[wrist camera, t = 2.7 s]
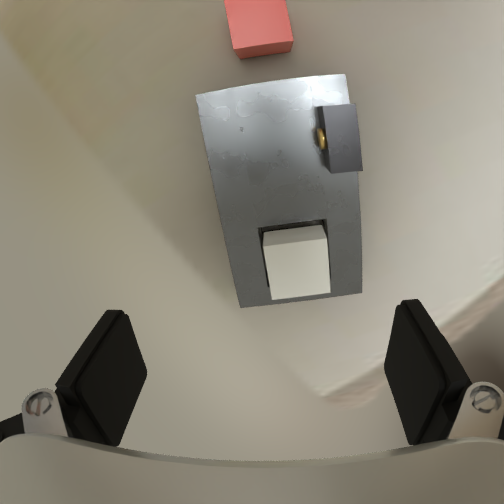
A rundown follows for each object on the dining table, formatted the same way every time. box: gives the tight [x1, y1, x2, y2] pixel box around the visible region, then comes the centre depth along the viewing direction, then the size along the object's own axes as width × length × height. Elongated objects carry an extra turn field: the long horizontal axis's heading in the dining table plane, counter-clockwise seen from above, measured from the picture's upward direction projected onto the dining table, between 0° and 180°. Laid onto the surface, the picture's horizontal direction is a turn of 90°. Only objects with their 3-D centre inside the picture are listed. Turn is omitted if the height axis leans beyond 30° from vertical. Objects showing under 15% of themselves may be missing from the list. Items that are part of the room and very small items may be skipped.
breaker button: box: [263, 225, 331, 300], centre depth 27 cm, size 5×5×3 cm
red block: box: [224, 0, 294, 59], centre depth 21 cm, size 4×4×5 cm
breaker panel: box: [195, 74, 363, 308], centre depth 27 cm, size 12×20×6 cm, turn 10°
